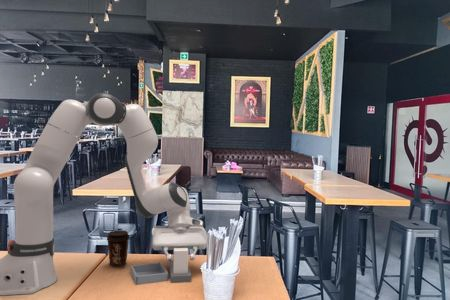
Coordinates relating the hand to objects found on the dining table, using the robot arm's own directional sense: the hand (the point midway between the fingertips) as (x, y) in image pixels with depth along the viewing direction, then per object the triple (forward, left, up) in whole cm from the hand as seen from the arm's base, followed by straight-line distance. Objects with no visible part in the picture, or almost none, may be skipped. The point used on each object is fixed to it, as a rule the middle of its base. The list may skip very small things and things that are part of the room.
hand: (180, 259), depth 125 cm
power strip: (+1, +5, -7) cm, 8 cm away
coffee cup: (-19, +20, -7) cm, 29 cm away
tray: (-10, +5, -7) cm, 13 cm away
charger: (0, +1, -7) cm, 7 cm away
